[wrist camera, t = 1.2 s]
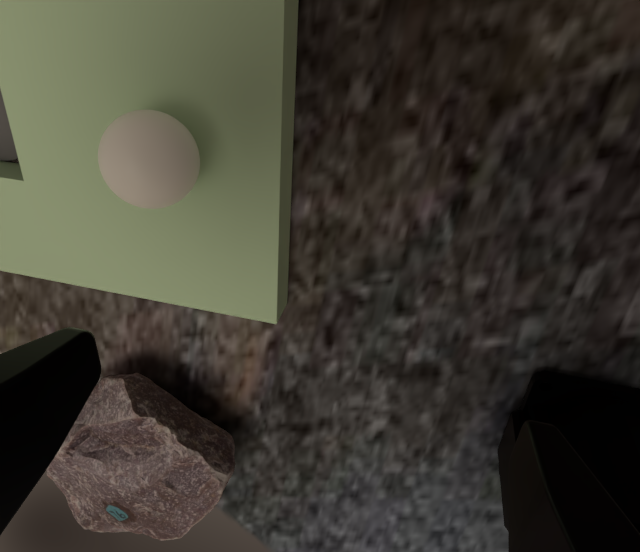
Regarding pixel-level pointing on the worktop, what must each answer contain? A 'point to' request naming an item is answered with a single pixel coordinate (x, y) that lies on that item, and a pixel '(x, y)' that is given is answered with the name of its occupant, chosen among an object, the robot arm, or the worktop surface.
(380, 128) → the worktop surface
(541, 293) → the worktop surface
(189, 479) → the rock
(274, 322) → the board
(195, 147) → the ball
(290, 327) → the worktop surface
